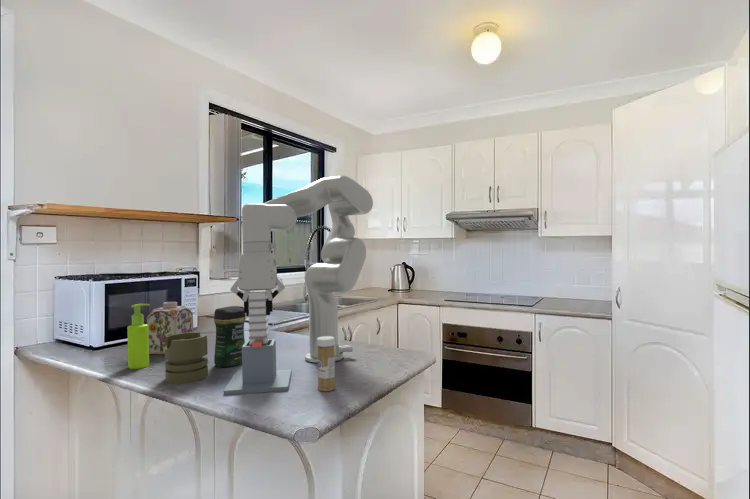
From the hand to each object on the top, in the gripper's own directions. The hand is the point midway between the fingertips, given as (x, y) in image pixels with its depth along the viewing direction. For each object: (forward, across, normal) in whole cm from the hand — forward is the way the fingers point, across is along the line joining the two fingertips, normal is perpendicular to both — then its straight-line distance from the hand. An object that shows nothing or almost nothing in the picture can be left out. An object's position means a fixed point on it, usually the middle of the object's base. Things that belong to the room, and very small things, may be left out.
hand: (258, 314), depth 116 cm
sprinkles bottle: (+19, -18, +9) cm, 28 cm away
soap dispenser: (+19, +41, -26) cm, 52 cm away
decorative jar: (+19, +38, -46) cm, 63 cm away
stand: (+19, 0, 0) cm, 19 cm away
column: (+12, 0, 0) cm, 12 cm away
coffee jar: (+19, +12, -22) cm, 31 cm away
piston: (+19, +22, -10) cm, 31 cm away
